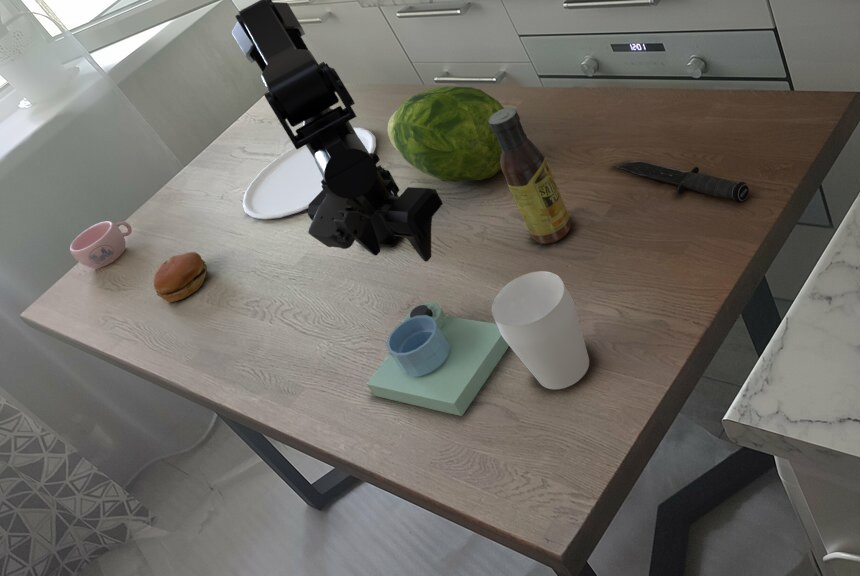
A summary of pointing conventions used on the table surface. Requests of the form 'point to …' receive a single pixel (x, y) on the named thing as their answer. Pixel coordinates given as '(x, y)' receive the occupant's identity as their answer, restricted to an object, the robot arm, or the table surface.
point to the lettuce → (448, 133)
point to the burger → (180, 276)
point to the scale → (446, 367)
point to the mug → (100, 244)
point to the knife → (690, 180)
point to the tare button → (420, 311)
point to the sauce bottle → (530, 179)
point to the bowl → (418, 345)
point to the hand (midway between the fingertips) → (402, 256)
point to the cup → (542, 328)
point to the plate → (290, 182)
